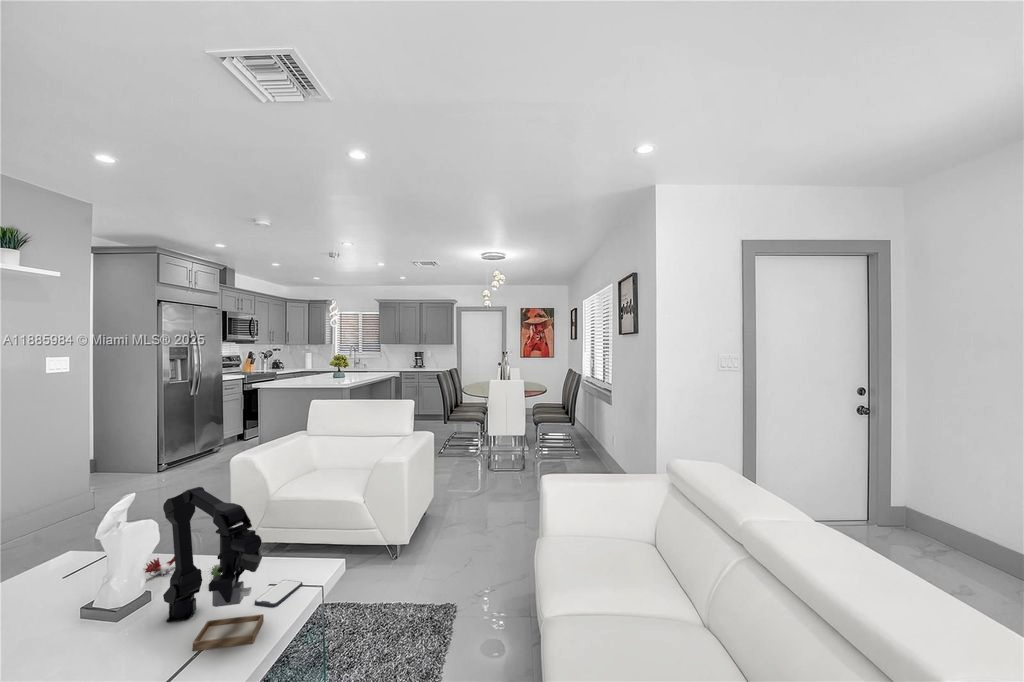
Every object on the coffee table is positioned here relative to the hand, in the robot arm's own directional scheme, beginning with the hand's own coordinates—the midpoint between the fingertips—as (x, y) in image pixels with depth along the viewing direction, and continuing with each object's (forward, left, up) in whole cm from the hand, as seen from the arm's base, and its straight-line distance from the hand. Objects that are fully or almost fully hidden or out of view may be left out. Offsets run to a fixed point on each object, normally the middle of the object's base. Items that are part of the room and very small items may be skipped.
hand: (230, 598), depth 145 cm
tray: (0, 0, -11) cm, 11 cm away
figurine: (-39, +48, -12) cm, 63 cm away
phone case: (+9, +22, -12) cm, 26 cm away
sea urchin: (-15, +34, -12) cm, 39 cm away
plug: (0, 0, -1) cm, 1 cm away
